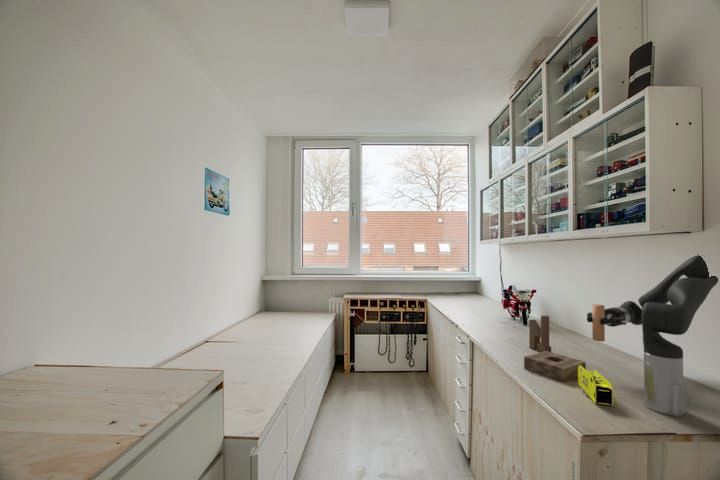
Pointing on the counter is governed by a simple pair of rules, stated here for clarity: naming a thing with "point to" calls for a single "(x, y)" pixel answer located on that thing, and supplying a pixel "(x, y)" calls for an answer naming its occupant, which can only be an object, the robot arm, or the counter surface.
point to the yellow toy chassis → (595, 386)
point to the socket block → (553, 365)
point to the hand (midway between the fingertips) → (594, 320)
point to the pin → (598, 322)
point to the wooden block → (539, 334)
